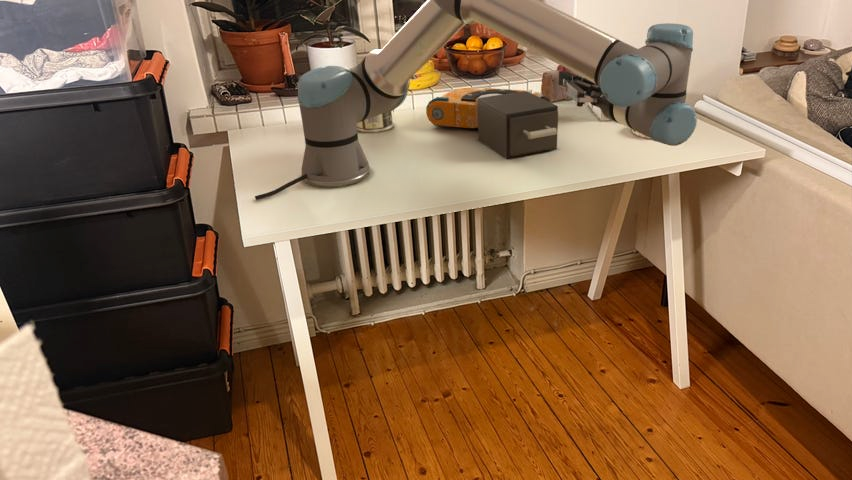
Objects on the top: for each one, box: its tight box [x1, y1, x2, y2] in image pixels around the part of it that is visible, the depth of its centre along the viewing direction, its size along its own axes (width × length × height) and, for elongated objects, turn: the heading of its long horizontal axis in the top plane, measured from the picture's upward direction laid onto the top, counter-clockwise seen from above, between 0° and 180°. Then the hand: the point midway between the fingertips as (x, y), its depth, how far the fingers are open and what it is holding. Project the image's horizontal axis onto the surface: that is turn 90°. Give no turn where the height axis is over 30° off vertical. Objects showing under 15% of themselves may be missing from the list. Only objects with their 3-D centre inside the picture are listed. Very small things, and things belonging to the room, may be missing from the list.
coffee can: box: [357, 111, 394, 133], centre depth 188 cm, size 10×10×14 cm
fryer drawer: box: [509, 110, 559, 156], centre depth 170 cm, size 19×13×9 cm, turn 26°
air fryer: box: [477, 90, 559, 159], centre depth 173 cm, size 16×14×11 cm
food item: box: [540, 64, 584, 103], centre depth 210 cm, size 14×8×10 cm, turn 121°
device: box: [425, 87, 551, 129], centre depth 191 cm, size 23×8×30 cm
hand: (561, 77), depth 149 cm, fingers closed
